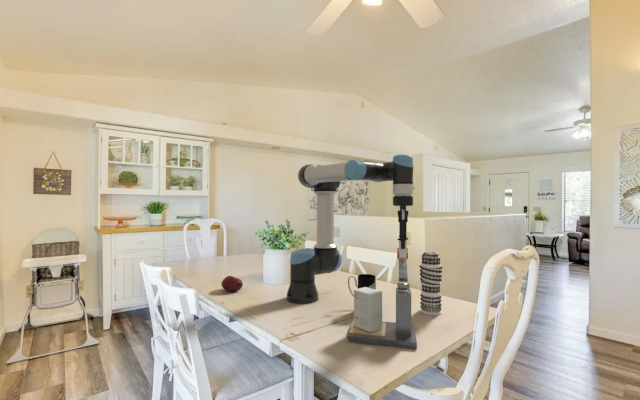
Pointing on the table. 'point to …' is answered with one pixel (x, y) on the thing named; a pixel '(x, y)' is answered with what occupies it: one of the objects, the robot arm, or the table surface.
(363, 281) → the glass holder
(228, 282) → the heart
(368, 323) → the small box
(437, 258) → the decorative candle
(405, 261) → the lever
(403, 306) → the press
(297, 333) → the table surface
